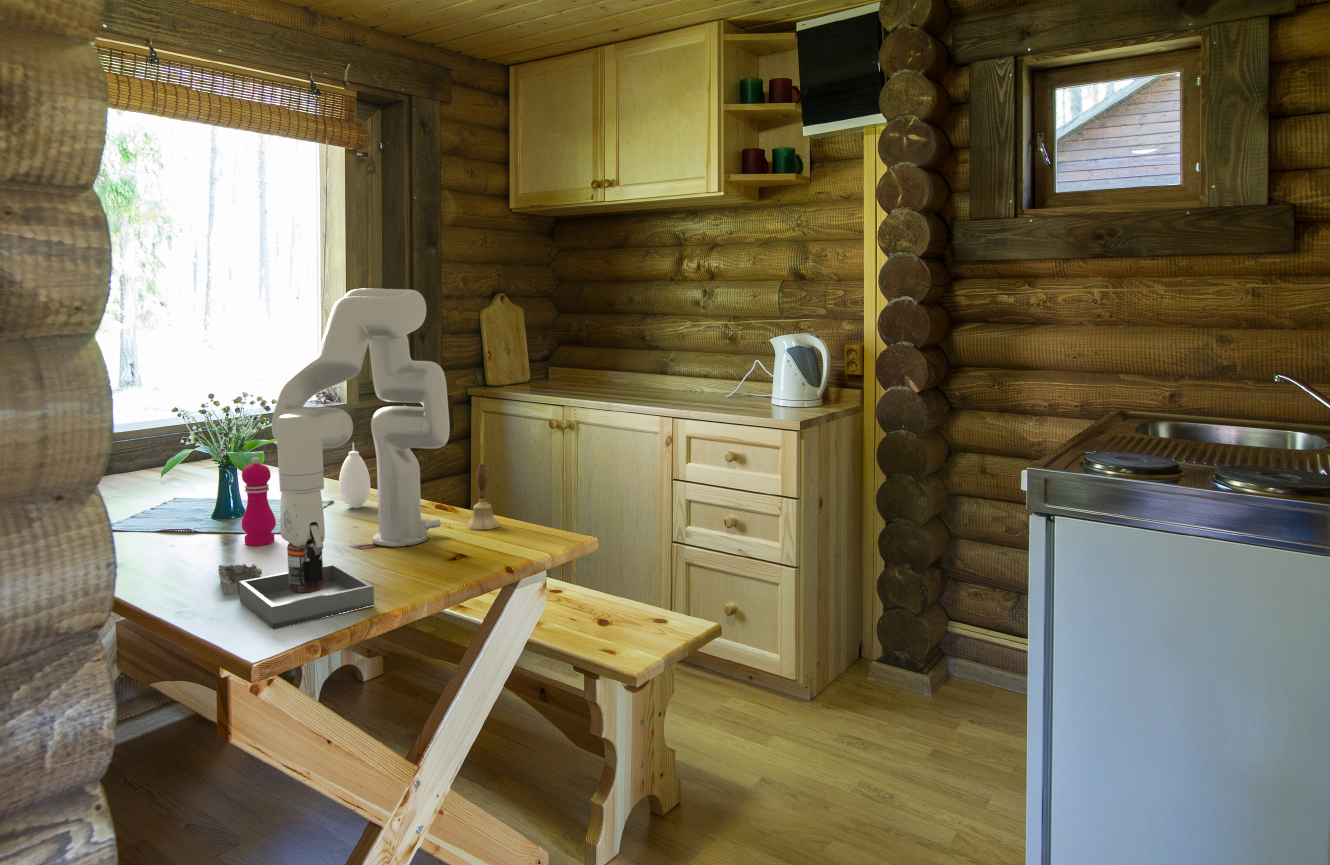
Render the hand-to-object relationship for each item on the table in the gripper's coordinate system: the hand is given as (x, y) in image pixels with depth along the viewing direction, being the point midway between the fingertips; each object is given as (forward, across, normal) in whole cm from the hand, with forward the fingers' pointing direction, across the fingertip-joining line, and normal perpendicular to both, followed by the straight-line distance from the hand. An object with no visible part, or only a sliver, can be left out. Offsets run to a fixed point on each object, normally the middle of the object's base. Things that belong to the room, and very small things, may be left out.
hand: (306, 576), depth 165 cm
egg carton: (+6, -19, -6) cm, 21 cm away
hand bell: (+6, -30, +55) cm, 63 cm away
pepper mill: (+6, -49, +7) cm, 50 cm away
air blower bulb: (+6, -69, +38) cm, 79 cm away
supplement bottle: (+3, 0, 0) cm, 3 cm away
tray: (+5, 0, 0) cm, 5 cm away
